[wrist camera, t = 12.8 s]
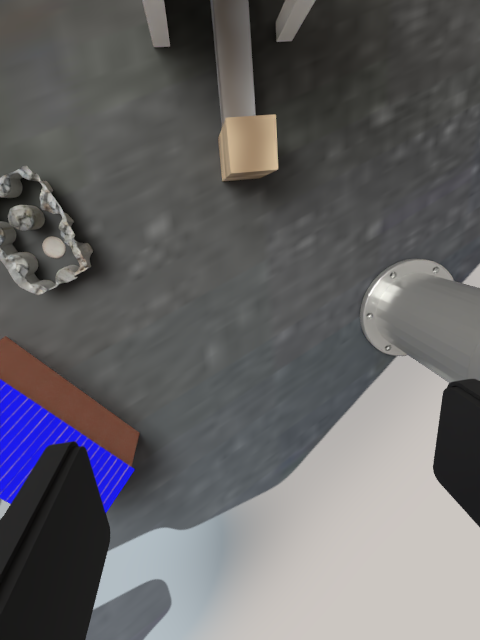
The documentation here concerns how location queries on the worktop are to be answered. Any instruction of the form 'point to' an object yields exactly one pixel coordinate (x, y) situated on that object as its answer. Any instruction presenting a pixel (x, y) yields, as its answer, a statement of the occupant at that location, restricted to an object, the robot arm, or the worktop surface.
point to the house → (56, 425)
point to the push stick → (240, 98)
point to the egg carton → (31, 219)
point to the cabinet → (286, 23)
